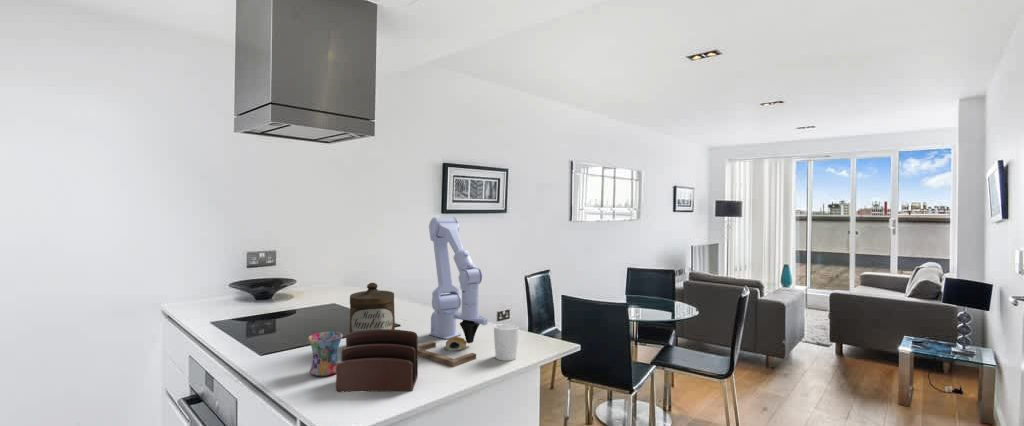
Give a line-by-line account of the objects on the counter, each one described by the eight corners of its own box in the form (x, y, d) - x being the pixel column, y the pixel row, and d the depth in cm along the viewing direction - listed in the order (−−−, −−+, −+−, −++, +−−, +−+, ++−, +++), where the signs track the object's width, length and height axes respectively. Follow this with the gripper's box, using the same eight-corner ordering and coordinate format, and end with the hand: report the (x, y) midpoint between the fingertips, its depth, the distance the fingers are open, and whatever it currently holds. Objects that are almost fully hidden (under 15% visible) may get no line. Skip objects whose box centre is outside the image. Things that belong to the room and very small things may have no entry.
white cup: (489, 359, 149) (489, 327, 149) (501, 352, 156) (501, 322, 156) (511, 363, 145) (511, 331, 145) (522, 356, 152) (522, 325, 152)
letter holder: (346, 378, 132) (346, 328, 131) (418, 377, 133) (418, 328, 133) (335, 392, 122) (335, 338, 121) (412, 391, 123) (413, 338, 123)
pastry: (449, 343, 166) (450, 332, 166) (468, 343, 166) (468, 333, 166) (444, 351, 157) (444, 339, 157) (464, 352, 157) (464, 340, 156)
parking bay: (408, 352, 154) (408, 348, 154) (431, 345, 162) (431, 341, 162) (453, 366, 141) (453, 362, 141) (476, 358, 149) (476, 353, 149)
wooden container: (349, 355, 151) (349, 287, 151) (349, 342, 165) (349, 280, 165) (396, 351, 156) (396, 285, 155) (392, 339, 170) (393, 278, 169)
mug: (331, 379, 130) (331, 341, 130) (301, 377, 132) (301, 339, 132) (352, 365, 142) (353, 330, 142) (324, 363, 144) (324, 328, 143)
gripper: (493, 304, 160) (493, 343, 160) (463, 298, 169) (463, 336, 169) (479, 307, 155) (479, 348, 155) (448, 301, 164) (448, 340, 164)
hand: (469, 342), depth 162 cm, fingers closed
